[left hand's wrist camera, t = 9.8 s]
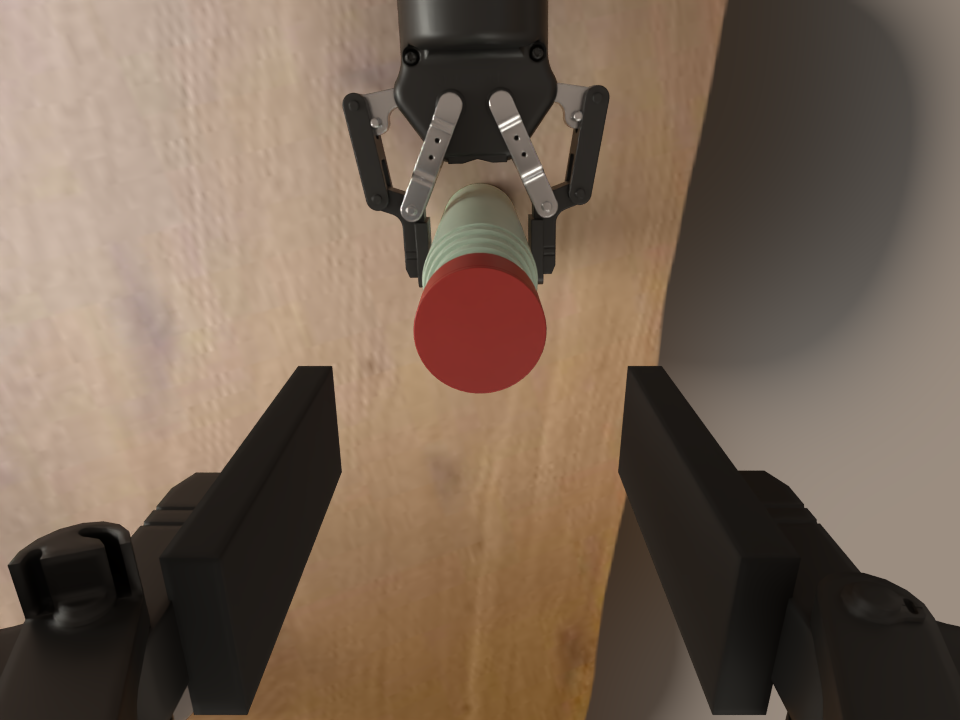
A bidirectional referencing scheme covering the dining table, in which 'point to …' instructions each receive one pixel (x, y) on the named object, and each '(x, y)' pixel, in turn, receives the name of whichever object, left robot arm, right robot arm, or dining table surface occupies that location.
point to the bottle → (480, 231)
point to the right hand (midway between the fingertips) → (481, 281)
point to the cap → (480, 324)
